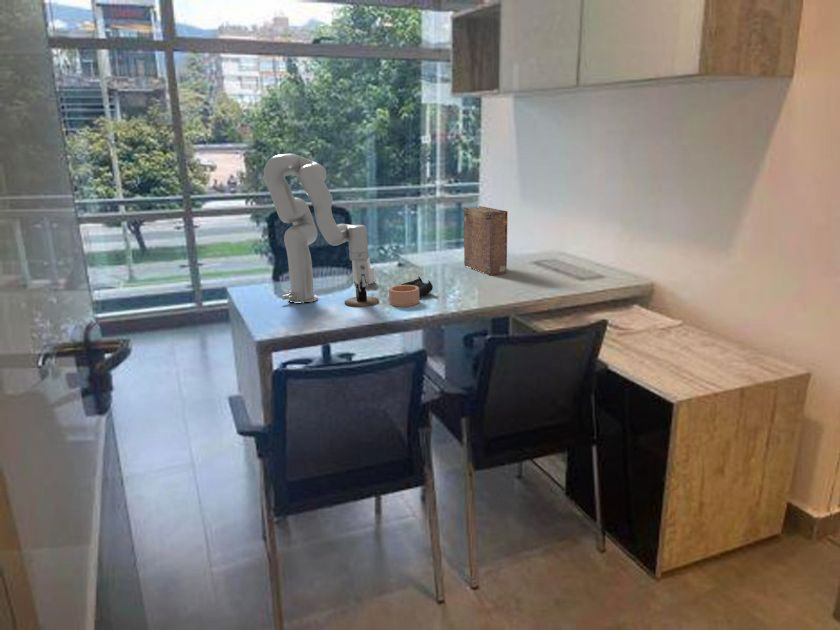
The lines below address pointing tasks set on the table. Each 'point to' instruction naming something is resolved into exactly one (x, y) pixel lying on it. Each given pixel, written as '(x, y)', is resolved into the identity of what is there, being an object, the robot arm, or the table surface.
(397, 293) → the terracotta bowl
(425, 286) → the gaming controller
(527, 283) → the table surface
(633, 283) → the table surface
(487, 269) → the brown lidded box
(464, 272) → the table surface
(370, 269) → the medicine bottle
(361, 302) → the walnut lid
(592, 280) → the table surface
